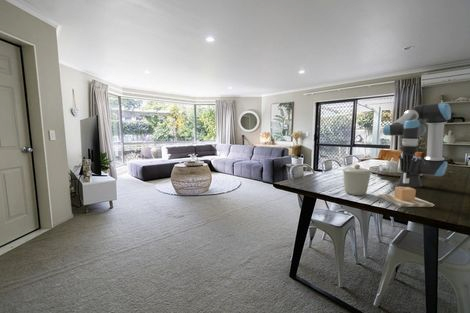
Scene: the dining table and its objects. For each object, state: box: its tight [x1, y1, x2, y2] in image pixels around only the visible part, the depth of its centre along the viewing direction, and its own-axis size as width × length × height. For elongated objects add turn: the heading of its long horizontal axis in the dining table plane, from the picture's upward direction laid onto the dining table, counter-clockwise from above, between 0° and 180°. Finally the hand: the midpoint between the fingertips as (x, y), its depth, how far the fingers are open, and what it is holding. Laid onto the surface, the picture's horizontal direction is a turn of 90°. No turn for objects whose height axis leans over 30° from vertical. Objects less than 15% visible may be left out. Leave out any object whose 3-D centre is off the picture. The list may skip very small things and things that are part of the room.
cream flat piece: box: [377, 193, 435, 208], centre depth 140 cm, size 20×20×6 cm
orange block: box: [394, 186, 417, 201], centre depth 139 cm, size 8×6×7 cm
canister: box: [342, 164, 373, 196], centre depth 156 cm, size 18×18×21 cm
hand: (405, 183), depth 138 cm, fingers closed
